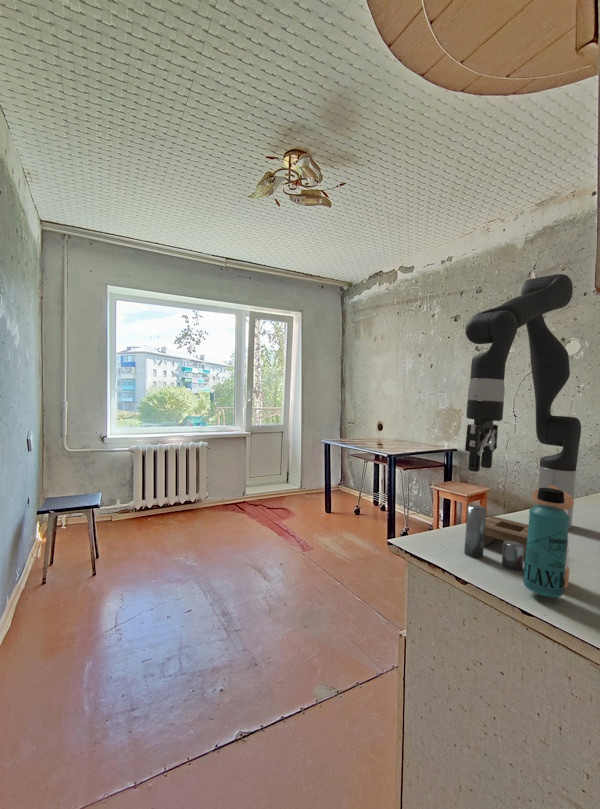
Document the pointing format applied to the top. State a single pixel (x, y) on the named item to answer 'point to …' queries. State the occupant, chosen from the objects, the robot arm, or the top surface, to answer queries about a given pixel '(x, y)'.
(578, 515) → the top surface
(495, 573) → the top surface
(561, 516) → the beverage bottle
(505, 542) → the short pin
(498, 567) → the top surface
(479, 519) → the tall pin
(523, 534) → the hole bridge
